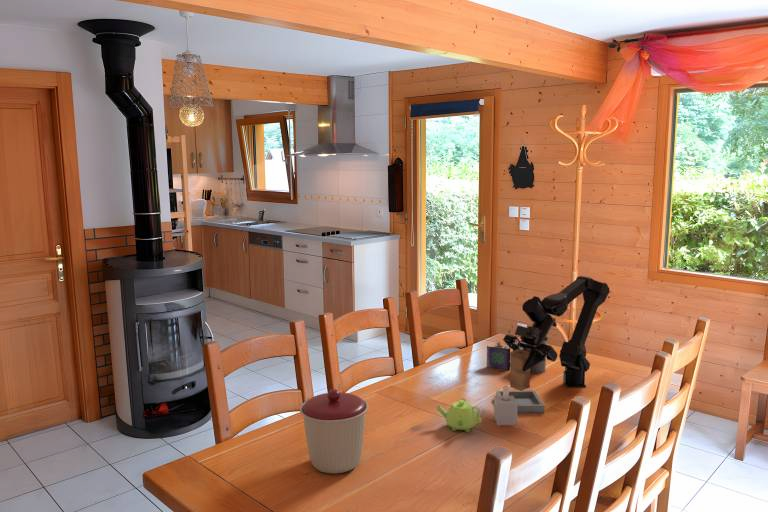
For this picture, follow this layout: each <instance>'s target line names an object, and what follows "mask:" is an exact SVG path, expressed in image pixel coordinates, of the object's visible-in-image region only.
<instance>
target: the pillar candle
mask: <svg viewBox="0 0 768 512" xmlns="http://www.w3.org/2000/svg"><path fill="white" fill-rule="evenodd" d="M546 337H547V338H548V335H547V336H546ZM520 341H522V342H523V340H522V339H521V338H520ZM547 341H548V340H547ZM547 341H545V340H544V341H543V343H542V344H546V345H548V344H547V343H548V342H547ZM522 350H524V351H528V352H530V351H531V350H528V349H525V348H523V349H522ZM546 364H547V358H546V357H545V361H541V362H539V363H538V364H536V365H534V366H533V367H531V368H530V375H540V374H543V373H545V372H546Z"/></svg>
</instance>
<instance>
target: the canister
mask: <svg viewBox="0 0 768 512" xmlns="http://www.w3.org/2000/svg"><path fill="white" fill-rule="evenodd" d="M368 410H369V403H368V402H367V401H366V400H365V399H364V398H362V397H360V396H358V395H356V394H353V393H348V392H340V390H339V389H336V388H333V389H330V390H329V391H328V392H325V393H321V394H318V395H315V396H312V397H310V398H309V399H307V400H305V401H304V402H303V403H302V404H301V405H300V407H299V411H300V414H301V415H302V417H303V418H302V420H303V424H304V425H303V426H304V431H305V438H306V439H305V440H306V445H307V449H308V456H309V460H310V462H311V464H312V466H313V467H314V468H315V469H316V470H317V471H319V472H321V473H326V474H334V475H335V474H336V475H337V474H343V473H347V472H349V471H351V470H353V469H355V468H356V467H357V466H358V465H359V463H360V461H361V458H362V453H363V452H362V451H363V445H364V436H365V426H366V425H365V424H366V414H367V412H368Z"/></svg>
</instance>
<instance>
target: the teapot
mask: <svg viewBox="0 0 768 512" xmlns="http://www.w3.org/2000/svg"><path fill="white" fill-rule="evenodd" d="M475 409H476V410H478V411H477V412H476V410H475ZM436 410H437V411H438V412H439V413H440V414H441V415H442V416H443V417H444V418H445V422H446V424H447V425H448V426H449V428H451V431H452V432H457V430H461V431H462V430H463V431H464V432H466V433H470V432H471V429H472V428H474V427H475V426H476V425H477V423H479V424H480V423H482V422H483V419H482V417H480V415H481V409H480V407H478V406H476V405H473V406H472V404H471V403H469V402H467V399H466V398H461V399H460V400H457V401H455V402H453V403H452V404H451V405H450V406H449V408H448V410H447V411H446V410H445V409H444V408H443V407H442V406H441V405H438V406H436Z"/></svg>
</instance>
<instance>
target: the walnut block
mask: <svg viewBox="0 0 768 512" xmlns="http://www.w3.org/2000/svg"><path fill="white" fill-rule="evenodd" d="M529 356H530V352H528V351H524V350H521V349H518V350H515V351H513V350H512V351H510V370H509V373H510V374H509V378H510V379H509V388H512V389H514V390H516V391H525V390H526V389H527V390H528V389H529V388H530V387H531V374H530V369H528V370H527V371H525V372H524V371H523V367H524V365H525V363H526V361H527V360H528V358H529Z"/></svg>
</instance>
